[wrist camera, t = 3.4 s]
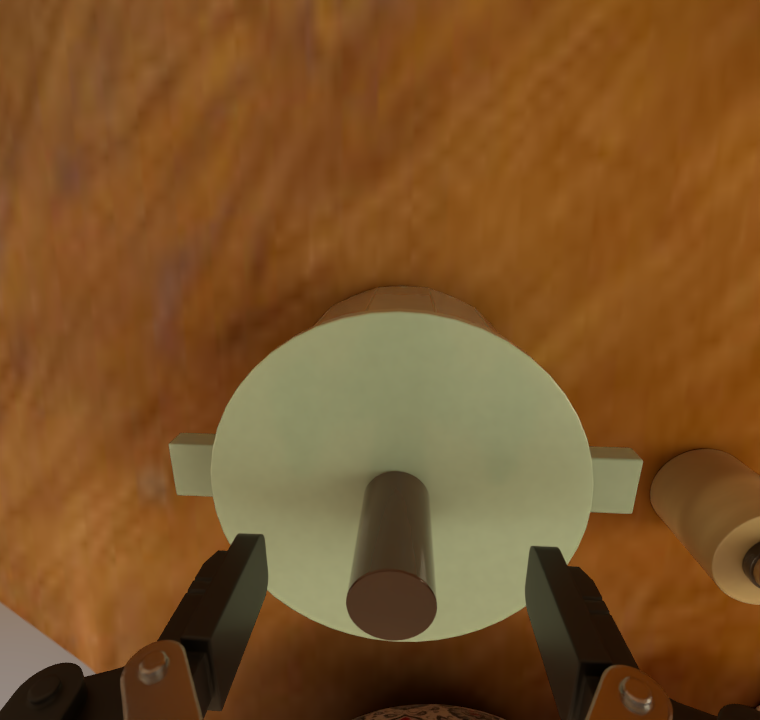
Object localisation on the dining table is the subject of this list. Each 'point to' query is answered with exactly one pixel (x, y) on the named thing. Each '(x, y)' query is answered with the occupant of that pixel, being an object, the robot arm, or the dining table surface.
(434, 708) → the ceramic bowl
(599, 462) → the pot
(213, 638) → the robot arm
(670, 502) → the rubber stamp
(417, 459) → the lid
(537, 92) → the dining table surface
